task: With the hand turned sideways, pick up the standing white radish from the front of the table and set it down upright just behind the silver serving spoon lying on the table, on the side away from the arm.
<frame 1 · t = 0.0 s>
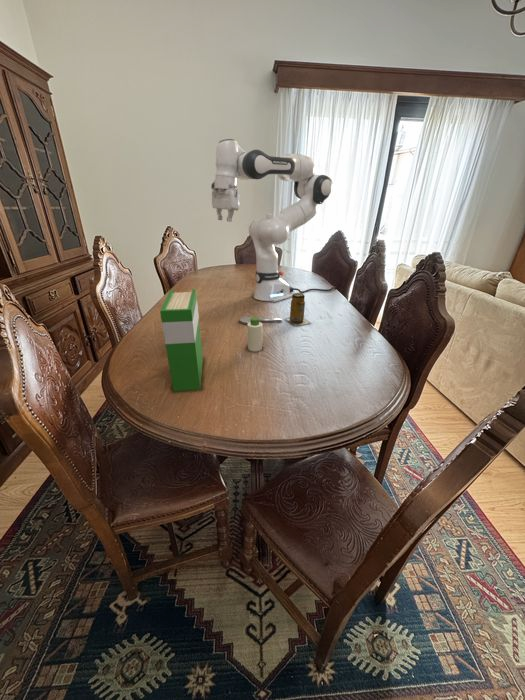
hand: (224, 220, 127), 39 cm above the table, tool pointing down, fingers open, 8 cm apart
spoon: (260, 321, 126), on the table
hardback book: (189, 374, 89), on the table
condiment: (297, 321, 127), on the table
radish: (254, 348, 104), on the table
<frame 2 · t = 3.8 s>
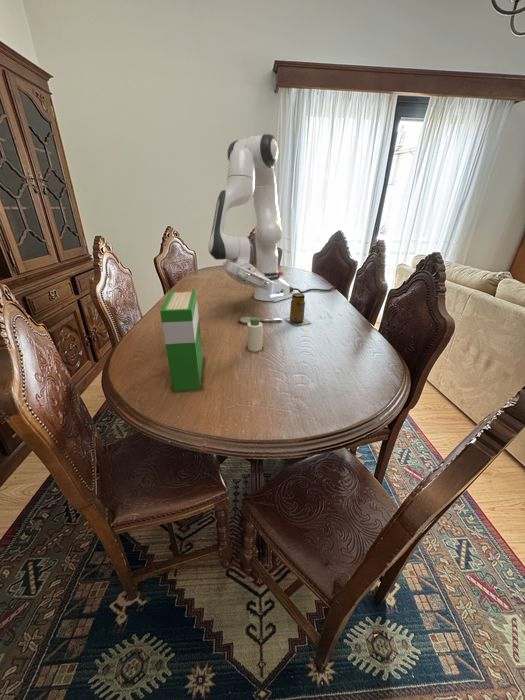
hand: (257, 280, 107), 21 cm above the table, tool horizontal, fingers open, 8 cm apart
nothing on the table moved.
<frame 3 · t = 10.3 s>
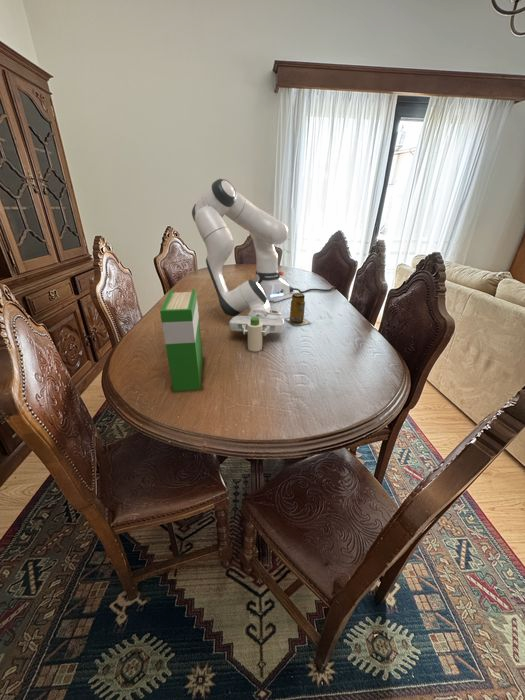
hand: (254, 333, 100), 6 cm above the table, tool horizontal, fingers closed on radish, 5 cm apart
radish: (255, 348, 104), on the table, touching gripper
everything else where it was.
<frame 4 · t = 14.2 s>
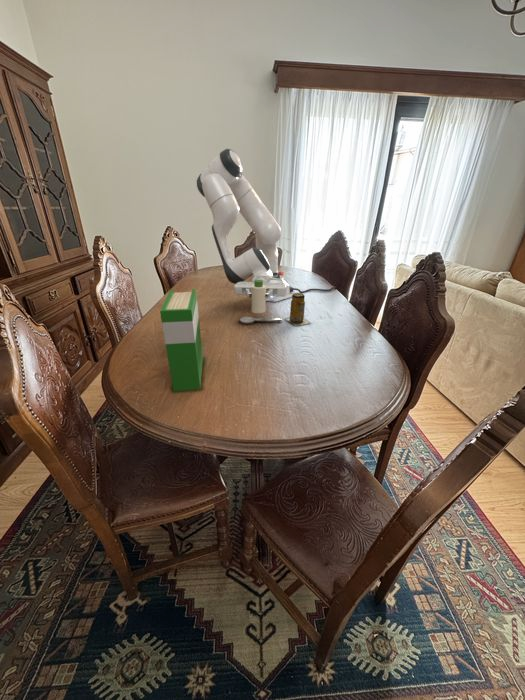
hand: (258, 295, 104), 17 cm above the table, tool horizontal, fingers closed on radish, 5 cm apart
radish: (258, 310, 108), point 11 cm above the table, touching gripper
everything else where it was.
when the fingers open (6 cm above the table, at t = 18.1 s): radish stays where it is, on the table.
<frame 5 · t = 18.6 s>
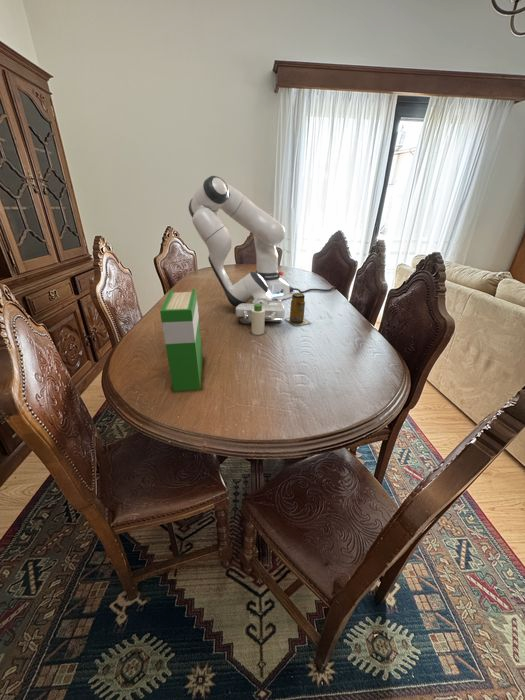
hand: (258, 318, 112), 6 cm above the table, tool horizontal, fingers open, 8 cm apart
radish: (257, 332, 116), on the table
everything else where it was.
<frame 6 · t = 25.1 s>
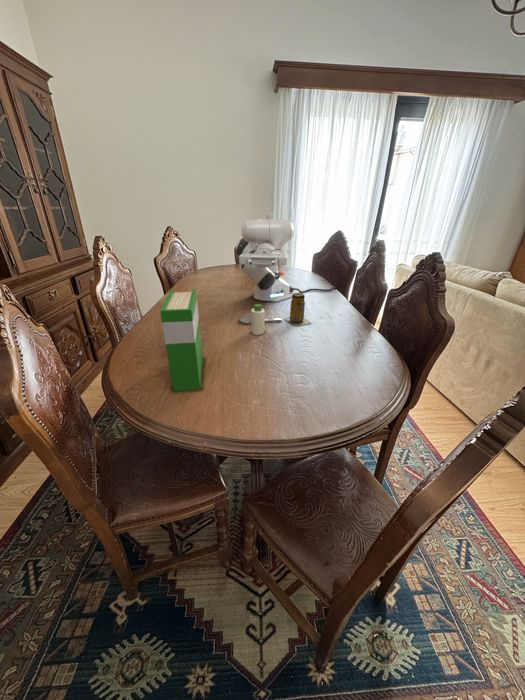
hand: (261, 263, 115), 25 cm above the table, tool horizontal, fingers open, 8 cm apart
nothing on the table moved.
at the end: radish inside the target area on the table beside the spoon (0.2 cm from its centre), on the table; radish tilted 0°; the gripper is holding nothing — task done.
